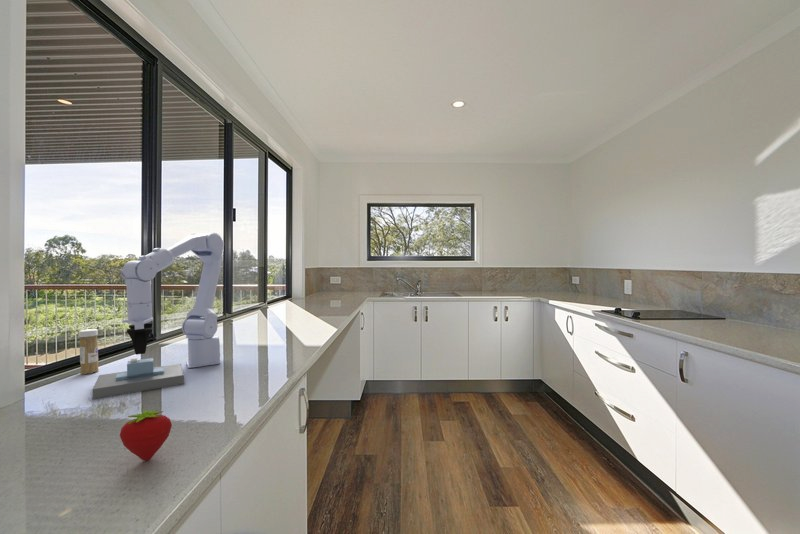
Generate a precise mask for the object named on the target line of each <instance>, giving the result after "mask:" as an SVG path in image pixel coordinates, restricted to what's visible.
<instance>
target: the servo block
mask: <svg viewBox="0 0 800 534" xmlns="http://www.w3.org/2000/svg"><path fill="white" fill-rule="evenodd" d="M154 367H155V366H154V358H153V357H151V358H144V359H143V358H142V359H138V358H136V357H135V358H130V360H128V361H127V363H126V371H127V373H121V374H117V376H116V381H117V380H124V379H125V380H129V379H135V378H142V377H148V376H154V375H157V374H164V367H163V368H156V369H154Z"/></svg>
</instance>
